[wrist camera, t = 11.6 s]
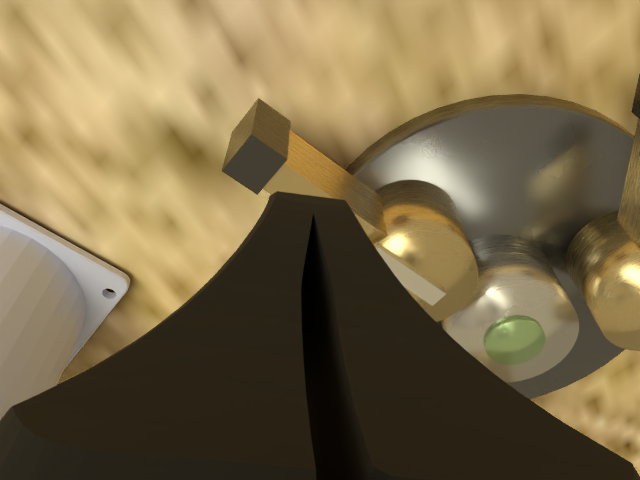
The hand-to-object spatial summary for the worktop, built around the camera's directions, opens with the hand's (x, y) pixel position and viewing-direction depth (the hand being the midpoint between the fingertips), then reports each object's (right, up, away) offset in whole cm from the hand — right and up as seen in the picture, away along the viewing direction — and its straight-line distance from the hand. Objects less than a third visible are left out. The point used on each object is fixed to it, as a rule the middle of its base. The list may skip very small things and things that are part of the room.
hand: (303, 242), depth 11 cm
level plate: (+7, -1, +13) cm, 15 cm away
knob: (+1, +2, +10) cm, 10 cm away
